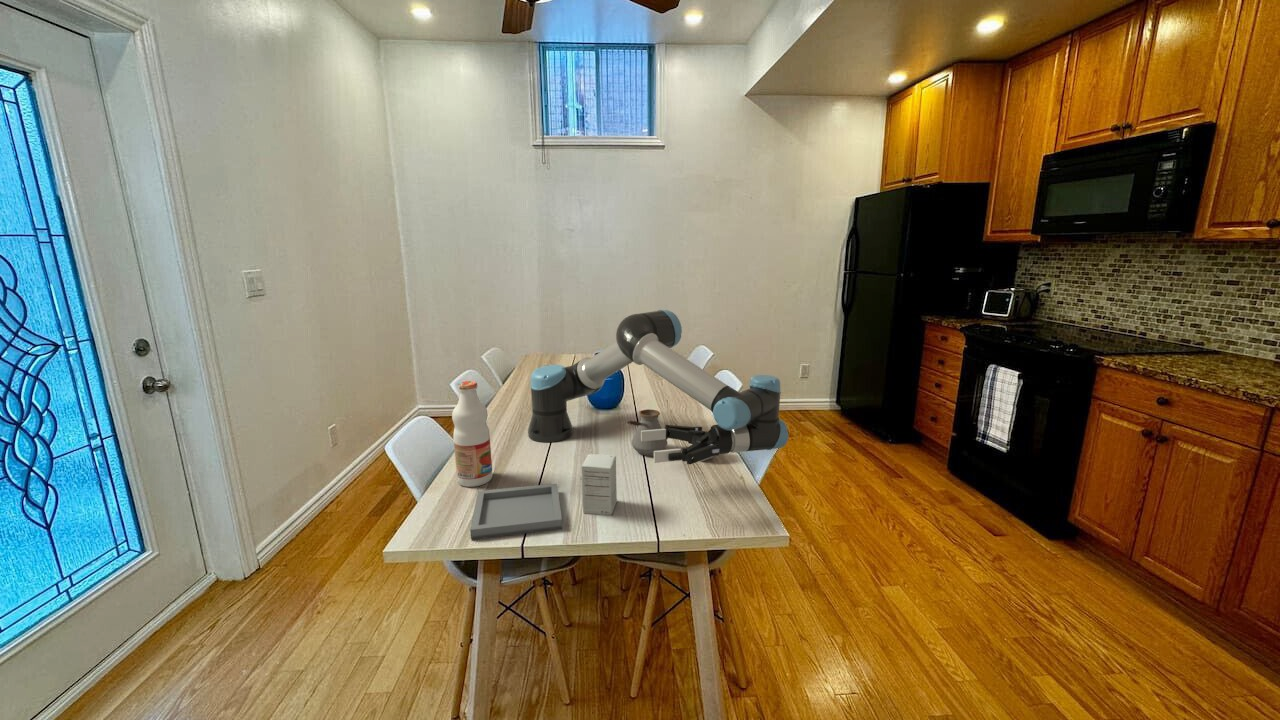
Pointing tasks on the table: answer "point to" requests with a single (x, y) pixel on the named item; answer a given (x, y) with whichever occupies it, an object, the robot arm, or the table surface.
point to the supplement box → (599, 484)
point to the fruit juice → (471, 438)
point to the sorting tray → (516, 511)
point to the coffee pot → (647, 423)
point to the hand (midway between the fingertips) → (647, 446)
